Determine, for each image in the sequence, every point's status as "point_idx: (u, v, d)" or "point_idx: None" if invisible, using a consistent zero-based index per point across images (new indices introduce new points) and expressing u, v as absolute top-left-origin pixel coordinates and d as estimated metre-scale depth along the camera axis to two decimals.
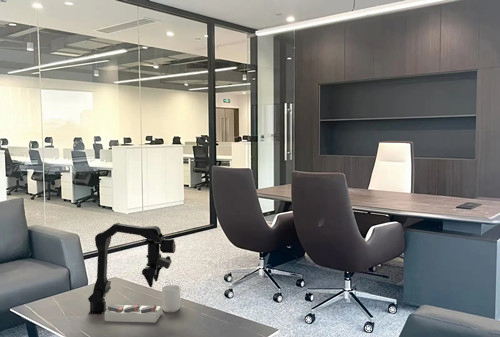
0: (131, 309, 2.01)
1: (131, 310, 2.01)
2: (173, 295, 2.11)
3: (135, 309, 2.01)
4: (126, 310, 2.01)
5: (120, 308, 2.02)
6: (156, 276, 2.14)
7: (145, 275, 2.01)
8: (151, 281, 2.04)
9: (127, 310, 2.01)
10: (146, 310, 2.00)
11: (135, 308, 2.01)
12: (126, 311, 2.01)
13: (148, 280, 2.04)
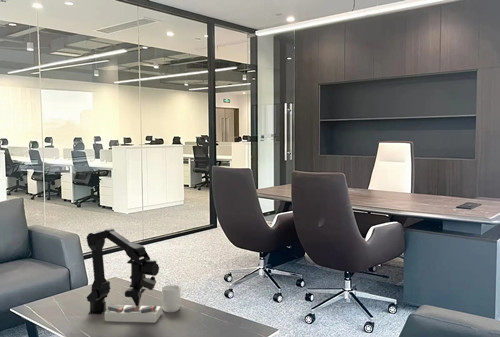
0: (131, 309, 2.01)
1: (131, 310, 2.01)
2: (173, 295, 2.11)
3: (135, 309, 2.01)
4: (126, 310, 2.01)
5: (120, 308, 2.02)
6: None
7: None
8: (137, 300, 2.01)
9: (127, 310, 2.01)
10: (146, 310, 2.00)
11: (135, 308, 2.01)
12: (126, 311, 2.01)
13: (134, 299, 2.01)
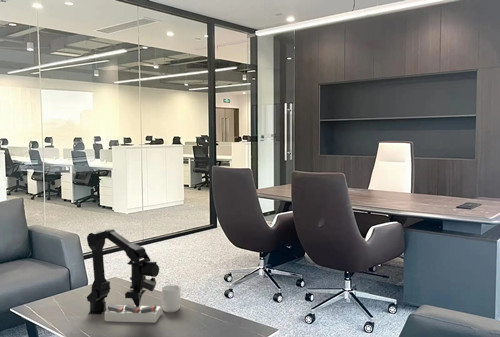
0: (132, 310, 2.01)
1: (131, 310, 2.01)
2: (173, 295, 2.11)
3: (135, 312, 2.01)
4: (127, 308, 2.01)
5: (120, 308, 2.02)
6: None
7: None
8: (138, 301, 2.01)
9: (128, 308, 2.01)
10: (146, 310, 2.00)
11: (136, 311, 2.01)
12: (126, 309, 2.01)
13: (135, 300, 2.01)
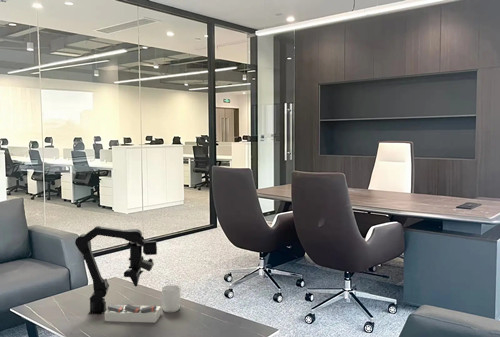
0: (132, 310, 2.01)
1: (131, 310, 2.01)
2: (173, 295, 2.11)
3: (135, 312, 2.01)
4: (127, 308, 2.01)
5: (120, 308, 2.02)
6: None
7: None
8: (136, 280, 2.13)
9: (128, 308, 2.01)
10: (146, 310, 2.00)
11: (136, 311, 2.01)
12: (126, 309, 2.01)
13: (133, 279, 2.13)
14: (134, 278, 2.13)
